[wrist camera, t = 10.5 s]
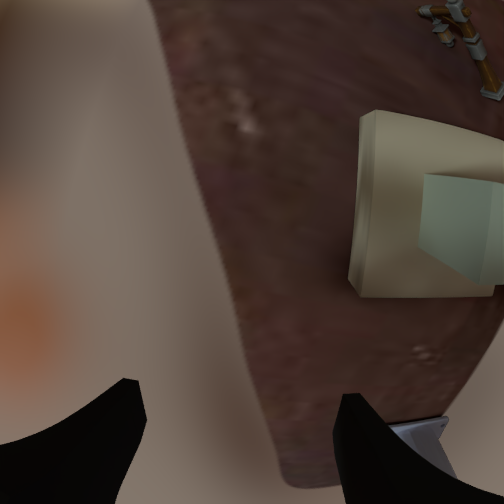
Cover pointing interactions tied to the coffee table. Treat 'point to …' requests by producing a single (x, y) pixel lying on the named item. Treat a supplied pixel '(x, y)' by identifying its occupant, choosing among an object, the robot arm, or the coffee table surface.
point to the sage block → (464, 226)
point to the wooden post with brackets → (474, 44)
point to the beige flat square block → (410, 203)
